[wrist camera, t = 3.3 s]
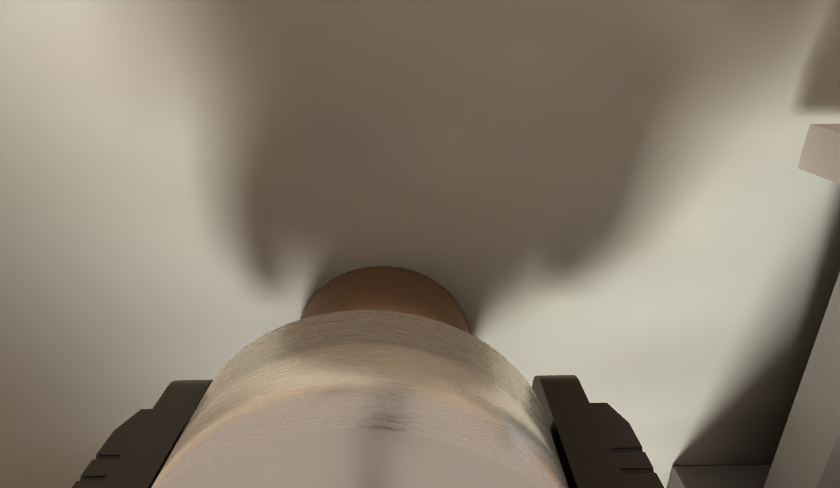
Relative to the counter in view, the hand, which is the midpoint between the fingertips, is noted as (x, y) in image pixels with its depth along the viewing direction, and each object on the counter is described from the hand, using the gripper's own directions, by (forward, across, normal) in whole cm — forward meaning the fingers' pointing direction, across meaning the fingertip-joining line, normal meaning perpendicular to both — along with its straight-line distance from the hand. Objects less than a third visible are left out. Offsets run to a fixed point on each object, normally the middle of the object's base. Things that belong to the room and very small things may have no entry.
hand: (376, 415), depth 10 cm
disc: (-1, 0, 0) cm, 1 cm away
